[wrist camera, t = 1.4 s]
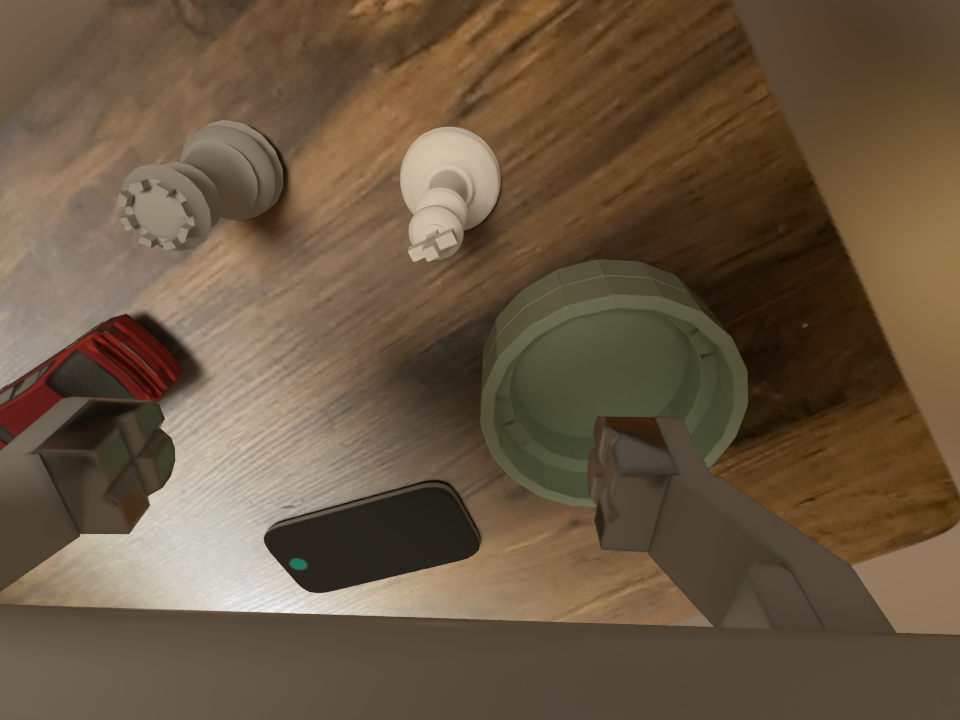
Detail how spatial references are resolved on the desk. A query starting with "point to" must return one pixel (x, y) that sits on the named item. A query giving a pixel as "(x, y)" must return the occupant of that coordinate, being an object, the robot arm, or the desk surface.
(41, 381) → the toy car
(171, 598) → the desk surface
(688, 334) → the bowl
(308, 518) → the smartphone
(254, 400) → the desk surface
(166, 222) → the rook chess piece
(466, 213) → the chess piece
